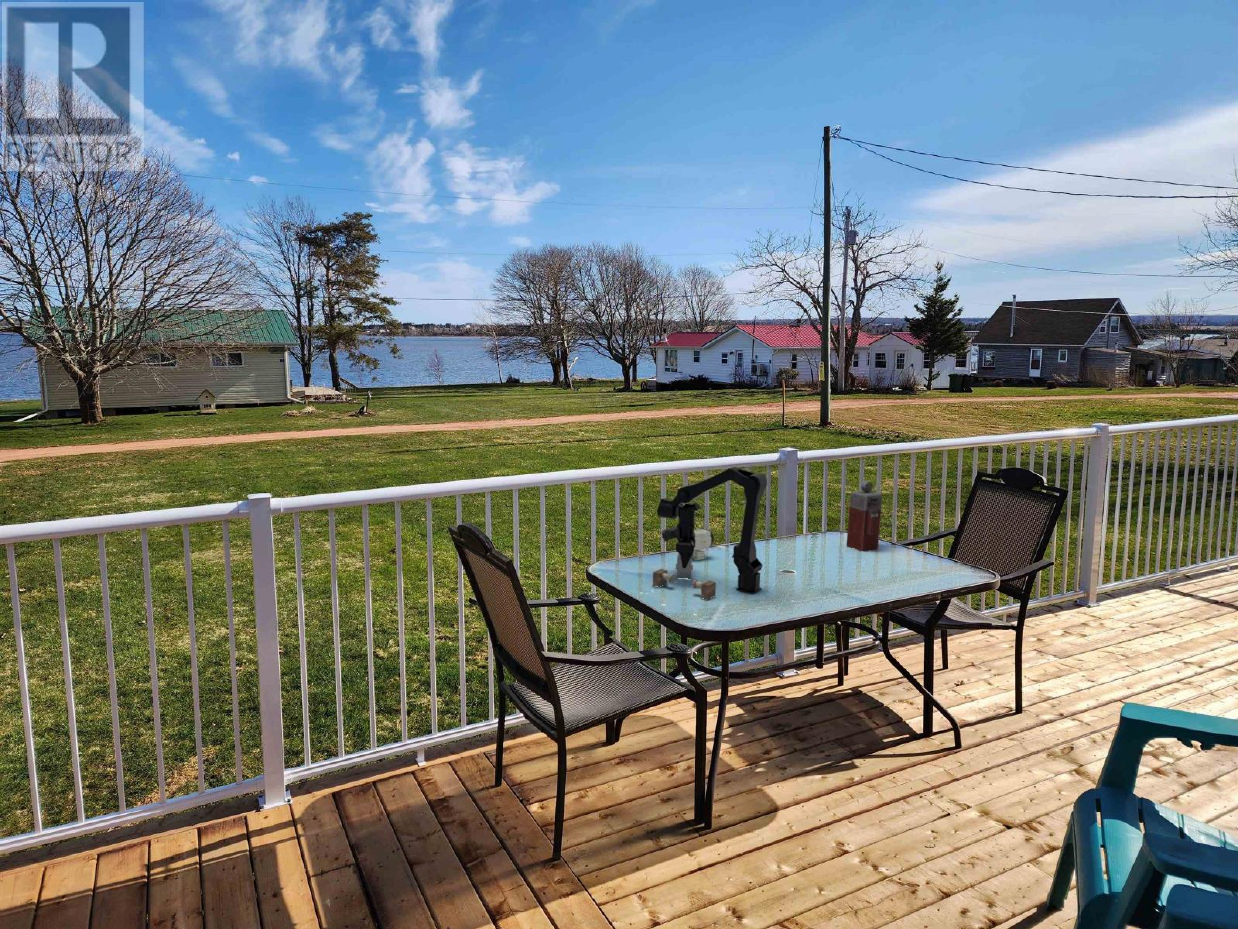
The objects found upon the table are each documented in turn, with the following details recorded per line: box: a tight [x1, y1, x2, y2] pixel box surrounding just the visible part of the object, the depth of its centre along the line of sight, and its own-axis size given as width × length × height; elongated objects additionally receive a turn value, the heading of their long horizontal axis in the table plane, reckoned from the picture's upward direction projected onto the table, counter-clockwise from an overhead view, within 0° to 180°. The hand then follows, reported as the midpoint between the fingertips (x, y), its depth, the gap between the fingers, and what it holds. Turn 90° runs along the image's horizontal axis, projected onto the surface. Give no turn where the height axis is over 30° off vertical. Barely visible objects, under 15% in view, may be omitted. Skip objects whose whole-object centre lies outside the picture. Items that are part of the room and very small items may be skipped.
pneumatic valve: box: [692, 528, 715, 561], centre depth 294 cm, size 6×12×12 cm, turn 122°
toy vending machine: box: [846, 480, 883, 552], centre depth 314 cm, size 9×11×28 cm
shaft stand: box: [652, 568, 717, 600], centre depth 256 cm, size 22×5×5 cm, turn 53°
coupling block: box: [675, 552, 694, 580], centre depth 271 cm, size 6×5×8 cm
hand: (684, 564), depth 271 cm, fingers open, 9 cm apart
